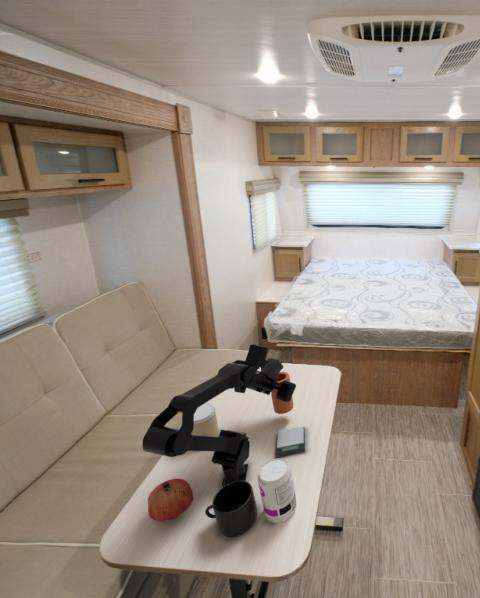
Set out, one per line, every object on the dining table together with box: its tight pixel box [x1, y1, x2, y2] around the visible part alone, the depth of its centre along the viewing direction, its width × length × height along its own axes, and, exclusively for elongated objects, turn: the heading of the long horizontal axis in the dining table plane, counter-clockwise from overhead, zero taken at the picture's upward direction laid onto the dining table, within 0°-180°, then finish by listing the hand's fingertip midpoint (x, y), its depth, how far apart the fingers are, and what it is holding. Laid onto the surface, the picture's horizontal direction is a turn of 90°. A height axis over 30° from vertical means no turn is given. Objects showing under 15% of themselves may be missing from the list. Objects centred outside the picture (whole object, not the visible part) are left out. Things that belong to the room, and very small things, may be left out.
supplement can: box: [257, 458, 297, 524], centre depth 90 cm, size 8×8×15 cm
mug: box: [204, 480, 259, 538], centre depth 89 cm, size 9×12×9 cm
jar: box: [270, 371, 294, 415], centre depth 120 cm, size 7×7×13 cm
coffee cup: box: [191, 402, 220, 436], centre depth 114 cm, size 9×9×12 cm
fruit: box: [147, 477, 195, 523], centre depth 91 cm, size 11×10×10 cm
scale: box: [275, 426, 306, 458], centre depth 115 cm, size 10×9×2 cm
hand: (284, 390), depth 122 cm, fingers closed on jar, 7 cm apart
